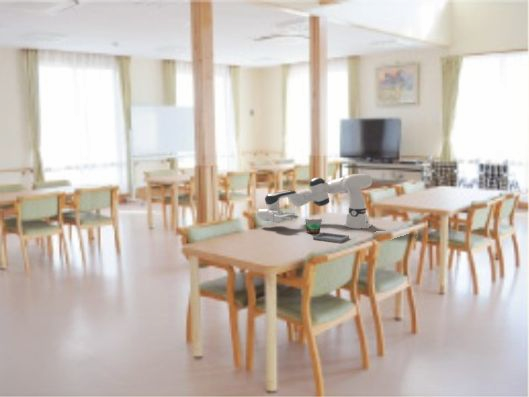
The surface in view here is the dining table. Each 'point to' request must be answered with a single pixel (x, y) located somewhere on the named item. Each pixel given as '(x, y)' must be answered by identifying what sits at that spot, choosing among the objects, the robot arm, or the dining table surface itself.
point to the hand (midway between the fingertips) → (294, 218)
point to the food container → (313, 226)
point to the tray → (331, 237)
